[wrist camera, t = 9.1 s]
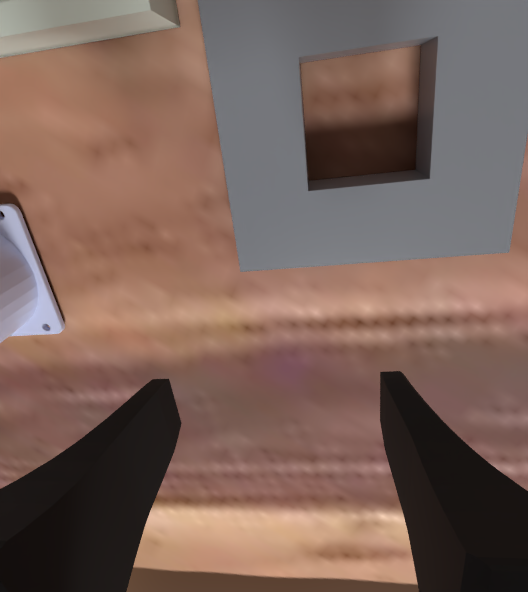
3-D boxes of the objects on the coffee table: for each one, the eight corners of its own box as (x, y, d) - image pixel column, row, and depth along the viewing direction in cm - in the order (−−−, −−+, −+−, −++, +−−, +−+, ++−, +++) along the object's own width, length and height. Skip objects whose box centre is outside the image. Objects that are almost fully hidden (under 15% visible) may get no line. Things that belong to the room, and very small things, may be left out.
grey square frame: (248, 253, 21) (240, 271, 19) (207, -23, 16) (190, -43, 14) (486, 235, 19) (509, 252, 17) (526, -83, 14) (566, -117, 12)
